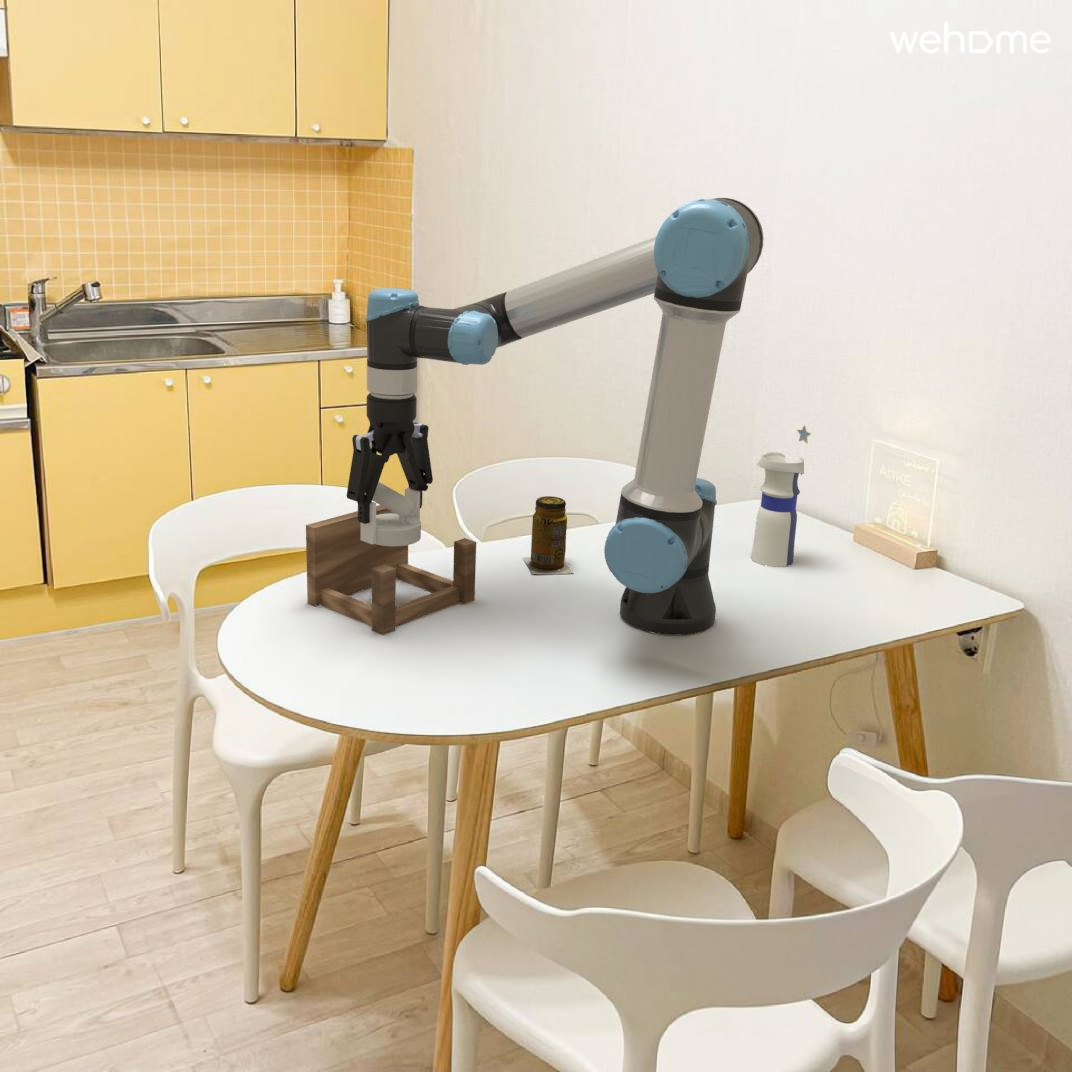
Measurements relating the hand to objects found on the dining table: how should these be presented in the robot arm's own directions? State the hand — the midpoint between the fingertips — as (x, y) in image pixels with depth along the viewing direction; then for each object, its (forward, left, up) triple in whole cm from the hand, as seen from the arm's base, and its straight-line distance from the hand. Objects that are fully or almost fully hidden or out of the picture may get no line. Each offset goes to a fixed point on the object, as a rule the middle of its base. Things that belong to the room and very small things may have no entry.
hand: (390, 535), depth 182 cm
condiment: (-7, -31, -11) cm, 34 cm away
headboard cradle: (0, 0, -11) cm, 11 cm away
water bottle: (-33, -64, -11) cm, 73 cm away
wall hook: (0, 0, 0) cm, 0 cm away
